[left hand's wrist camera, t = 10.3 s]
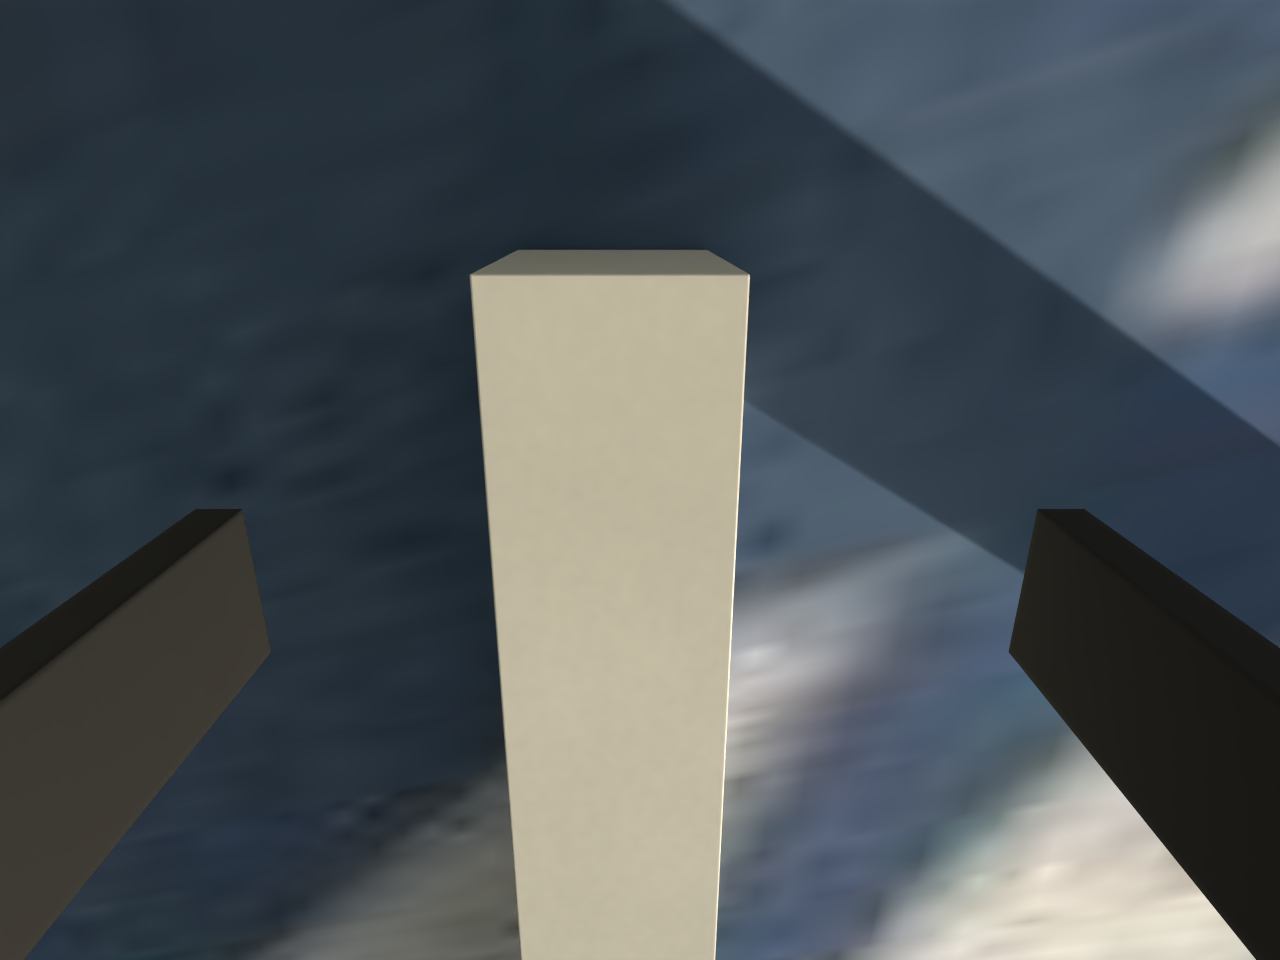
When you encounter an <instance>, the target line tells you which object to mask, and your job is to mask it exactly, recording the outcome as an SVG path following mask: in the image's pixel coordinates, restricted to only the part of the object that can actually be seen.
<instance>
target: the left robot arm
mask: <svg viewBox="0 0 1280 960" xmlns="http://www.w3.org/2000/svg"><path fill="white" fill-rule="evenodd" d="M270 653H271V648H270V643H269V638H268V633H267V628H266V623H265V618H264V613H263V608H262V604H261V599H260V594H259V589H258V584H257V579H256V574H255V569H254V564H253V559H252V555H251V550H250V545H249V540H248V535H247V530H246V525H245V520H244V515H243V510H242V509H195V510H194V511H193V512H191V513H190V514H188V515H187V516H186V517H184V518H183V519H181V520H180V521H179V522H177V523H176V524H174V525H173V526H172V527H170V528H169V529H167V530H166V531H164V532H163V533H162V534H160V535H159V536H157V537H156V538H155V539H153V540H152V541H150V542H149V543H148V544H146V545H145V546H143V547H142V548H141V549H139V550H138V551H136V552H135V553H134V554H132V555H131V556H129V557H128V558H127V559H125V560H124V561H122V562H121V563H119V564H118V565H117V566H115V567H114V568H112V569H111V570H110V571H108V572H107V573H105V574H104V575H103V576H101V577H100V578H98V579H97V580H96V581H94V582H93V583H91V584H90V585H89V586H87V587H86V588H84V589H83V590H82V591H80V592H79V593H77V594H76V595H74V596H73V597H72V598H70V599H69V600H67V601H66V602H65V603H63V604H62V605H60V606H59V607H58V608H56V609H55V610H53V611H52V612H51V613H49V614H48V615H46V616H45V617H44V618H42V619H41V620H39V621H38V622H37V623H35V624H34V625H32V626H31V627H29V628H28V629H27V630H25V631H24V632H22V633H21V634H20V635H18V636H17V637H15V638H14V639H13V640H11V641H10V642H8V643H7V644H6V645H4V646H3V647H1V648H0V960H24V959H25V958H26V956H27V955H28V954H29V953H30V951H31V950H32V949H33V948H34V946H35V945H36V944H37V943H38V941H39V940H40V939H41V938H42V936H43V935H44V934H45V933H46V931H47V930H48V929H49V928H50V926H51V925H52V924H53V923H54V921H55V920H56V919H57V918H58V917H59V915H60V914H61V913H62V912H63V910H64V909H65V908H66V907H67V905H68V904H69V903H70V902H71V900H72V899H73V898H74V897H75V895H76V894H77V893H78V892H79V890H80V889H81V888H82V887H83V885H84V884H85V883H86V882H87V880H88V879H89V878H90V877H91V875H92V874H93V873H94V872H95V871H96V869H97V868H98V867H99V866H100V864H101V863H102V862H103V861H104V859H105V858H106V857H107V856H108V854H109V853H110V852H111V851H112V849H113V848H114V847H115V846H116V844H117V843H118V842H119V841H120V839H121V838H122V837H123V836H124V834H125V833H126V832H127V831H128V829H129V828H130V827H131V826H132V824H133V823H134V822H135V821H136V820H137V818H138V817H139V816H140V815H141V813H142V812H143V811H144V810H145V808H146V807H147V806H148V805H149V803H150V802H151V801H152V800H153V798H154V797H155V796H156V795H157V793H158V792H159V791H160V790H161V788H162V787H163V786H164V785H165V783H166V782H167V781H168V780H169V778H170V777H171V776H172V775H173V774H174V772H175V771H176V770H177V769H178V767H179V766H180V765H181V764H182V762H183V761H184V760H185V759H186V757H187V756H188V755H189V754H190V752H191V751H192V750H193V749H194V747H195V746H196V745H197V744H198V742H199V741H200V740H201V739H202V737H203V736H204V735H205V734H206V732H207V731H208V730H209V729H210V727H211V726H212V725H213V724H214V723H215V721H216V720H217V719H218V718H219V716H220V715H221V714H222V713H223V711H224V710H225V709H226V708H227V706H228V705H229V704H230V703H231V701H232V700H233V699H234V698H235V696H236V695H237V694H238V693H239V691H240V690H241V689H242V688H243V686H244V685H245V684H246V683H247V681H248V680H249V679H250V678H251V676H252V675H253V674H254V673H255V672H256V670H257V669H258V668H259V667H260V665H261V664H262V663H263V662H264V660H265V659H266V658H267V657H268V655H269V654H270ZM1009 653H1010V654H1011V655H1012V657H1013V658H1014V659H1015V660H1016V662H1017V663H1018V664H1019V665H1020V667H1021V668H1022V669H1023V670H1024V672H1025V673H1026V674H1027V675H1028V676H1029V678H1030V679H1031V680H1032V681H1033V683H1034V684H1035V685H1036V686H1037V688H1038V689H1039V690H1040V691H1041V693H1042V694H1043V695H1044V696H1045V698H1046V699H1047V700H1048V701H1049V703H1050V704H1051V705H1052V706H1053V708H1054V709H1055V710H1056V711H1057V713H1058V714H1059V715H1060V716H1061V718H1062V719H1063V720H1064V721H1065V723H1066V724H1067V725H1068V726H1069V727H1070V729H1071V730H1072V731H1073V732H1074V734H1075V735H1076V736H1077V737H1078V739H1079V740H1080V741H1081V742H1082V744H1083V745H1084V746H1085V747H1086V749H1087V750H1088V751H1089V752H1090V754H1091V755H1092V756H1093V757H1094V759H1095V760H1096V761H1097V762H1098V764H1099V765H1100V766H1101V767H1102V769H1103V770H1104V771H1105V772H1106V773H1107V775H1108V776H1109V777H1110V778H1111V780H1112V781H1113V782H1114V783H1115V785H1116V786H1117V787H1118V788H1119V790H1120V791H1121V792H1122V793H1123V795H1124V796H1125V797H1126V798H1127V800H1128V801H1129V802H1130V803H1131V805H1132V806H1133V807H1134V808H1135V810H1136V811H1137V812H1138V813H1139V815H1140V816H1141V817H1142V818H1143V820H1144V821H1145V822H1146V823H1147V824H1148V826H1149V827H1150V828H1151V829H1152V831H1153V832H1154V833H1155V834H1156V836H1157V837H1158V838H1159V839H1160V841H1161V842H1162V843H1163V844H1164V846H1165V847H1166V848H1167V849H1168V851H1169V852H1170V853H1171V854H1172V856H1173V857H1174V858H1175V859H1176V861H1177V862H1178V863H1179V864H1180V866H1181V867H1182V868H1183V869H1184V871H1185V872H1186V873H1187V874H1188V875H1189V877H1190V878H1191V879H1192V880H1193V882H1194V883H1195V884H1196V885H1197V887H1198V888H1199V889H1200V890H1201V892H1202V893H1203V894H1204V895H1205V897H1206V898H1207V899H1208V900H1209V902H1210V903H1211V904H1212V905H1213V907H1214V908H1215V909H1216V910H1217V912H1218V913H1219V914H1220V915H1221V917H1222V918H1223V919H1224V920H1225V921H1226V923H1227V924H1228V925H1229V926H1230V928H1231V929H1232V930H1233V931H1234V933H1235V934H1236V935H1237V936H1238V938H1239V939H1240V940H1241V941H1242V943H1243V944H1244V945H1245V946H1246V948H1247V949H1248V950H1249V951H1250V953H1251V954H1252V955H1253V956H1254V958H1255V959H1256V960H1280V648H1279V647H1277V646H1276V645H1274V644H1273V643H1272V642H1270V641H1269V640H1267V639H1266V638H1265V637H1263V636H1262V635H1260V634H1259V633H1258V632H1256V631H1255V630H1253V629H1252V628H1251V627H1249V626H1248V625H1246V624H1245V623H1243V622H1242V621H1241V620H1239V619H1238V618H1236V617H1235V616H1234V615H1232V614H1231V613H1229V612H1228V611H1227V610H1225V609H1224V608H1222V607H1221V606H1220V605H1218V604H1217V603H1215V602H1214V601H1213V600H1211V599H1210V598H1208V597H1207V596H1206V595H1204V594H1203V593H1201V592H1200V591H1198V590H1197V589H1196V588H1194V587H1193V586H1191V585H1190V584H1189V583H1187V582H1186V581H1184V580H1183V579H1182V578H1180V577H1179V576H1177V575H1176V574H1175V573H1173V572H1172V571H1170V570H1169V569H1168V568H1166V567H1165V566H1163V565H1162V564H1161V563H1159V562H1158V561H1156V560H1155V559H1153V558H1152V557H1151V556H1149V555H1148V554H1146V553H1145V552H1144V551H1142V550H1141V549H1139V548H1138V547H1137V546H1135V545H1134V544H1132V543H1131V542H1130V541H1128V540H1127V539H1125V538H1124V537H1123V536H1121V535H1120V534H1118V533H1117V532H1116V531H1114V530H1113V529H1111V528H1110V527H1108V526H1107V525H1106V524H1104V523H1103V522H1101V521H1100V520H1099V519H1097V518H1096V517H1094V516H1093V515H1092V514H1090V513H1089V512H1087V511H1086V510H1085V509H1038V510H1037V515H1036V520H1035V525H1034V530H1033V535H1032V540H1031V545H1030V550H1029V555H1028V559H1027V564H1026V569H1025V574H1024V579H1023V584H1022V589H1021V594H1020V599H1019V604H1018V608H1017V613H1016V618H1015V623H1014V628H1013V633H1012V638H1011V643H1010V648H1009Z"/></svg>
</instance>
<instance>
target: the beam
mask: <svg viewBox="0 0 1280 960" xmlns="http://www.w3.org/2000/svg"><path fill="white" fill-rule="evenodd" d="M749 283H750V275H749V274H748V273H746V272H745V271H743V270H741V269H739V268H738V267H736V266H734V265H732V264H731V263H729V262H727V261H725V260H724V259H722V258H720V257H718V256H717V255H715V254H713V253H711V252H710V251H708V250H517V251H515V252H513V253H511V254H509V255H507V256H505V257H503V258H501V259H499V260H497V261H496V262H494V263H492V264H490V265H488V266H486V267H484V268H482V269H480V270H478V271H476V272H474V273H472V274H470V287H471V300H472V313H473V327H474V340H475V353H476V367H477V380H478V393H479V407H480V420H481V433H482V447H483V460H484V473H485V487H486V500H487V513H488V527H489V540H490V554H491V567H492V580H493V594H494V607H495V620H496V634H497V647H498V660H499V674H500V687H501V700H502V714H503V727H504V740H505V754H506V767H507V780H508V794H509V807H510V820H511V834H512V847H513V860H514V874H515V887H516V900H517V914H518V927H519V940H520V954H521V960H715V948H716V929H717V909H718V890H719V870H720V851H721V831H722V811H723V792H724V772H725V753H726V733H727V714H728V694H729V674H730V655H731V635H732V616H733V596H734V577H735V557H736V537H737V518H738V498H739V479H740V459H741V440H742V420H743V400H744V381H745V361H746V342H747V322H748V303H749Z"/></svg>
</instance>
